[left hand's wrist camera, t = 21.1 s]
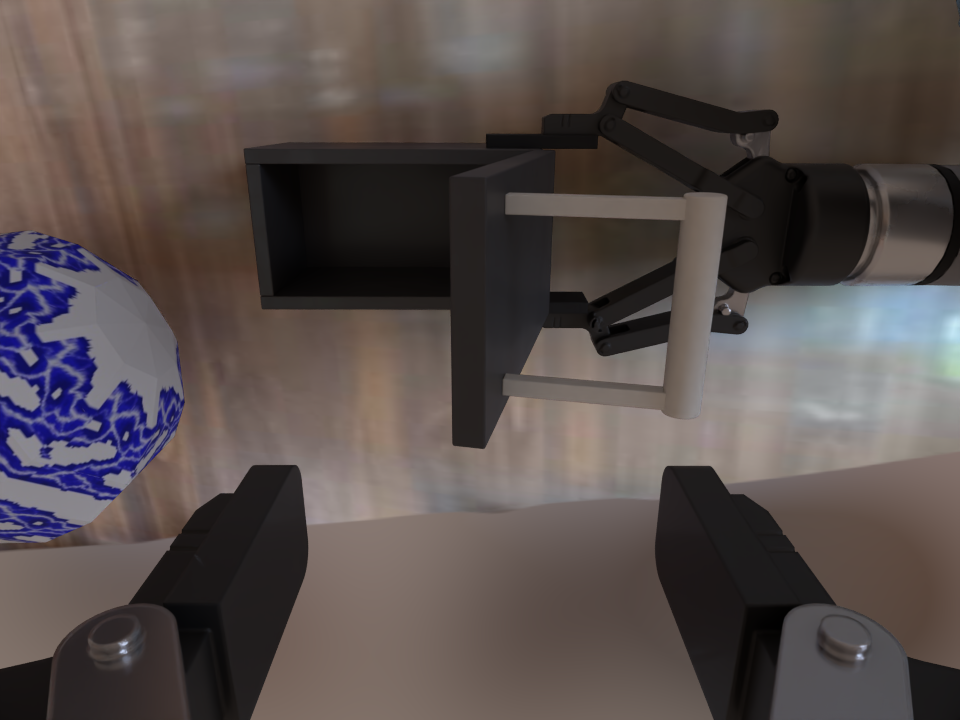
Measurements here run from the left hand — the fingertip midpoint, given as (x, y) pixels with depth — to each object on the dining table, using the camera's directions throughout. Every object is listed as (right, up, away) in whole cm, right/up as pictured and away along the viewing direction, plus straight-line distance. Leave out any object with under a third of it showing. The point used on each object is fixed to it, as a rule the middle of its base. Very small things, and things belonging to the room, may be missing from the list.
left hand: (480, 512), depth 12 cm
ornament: (-30, +4, +39) cm, 49 cm away
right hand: (0, +11, +30) cm, 32 cm away
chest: (-5, +13, +36) cm, 39 cm away
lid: (+1, +7, +19) cm, 20 cm away
